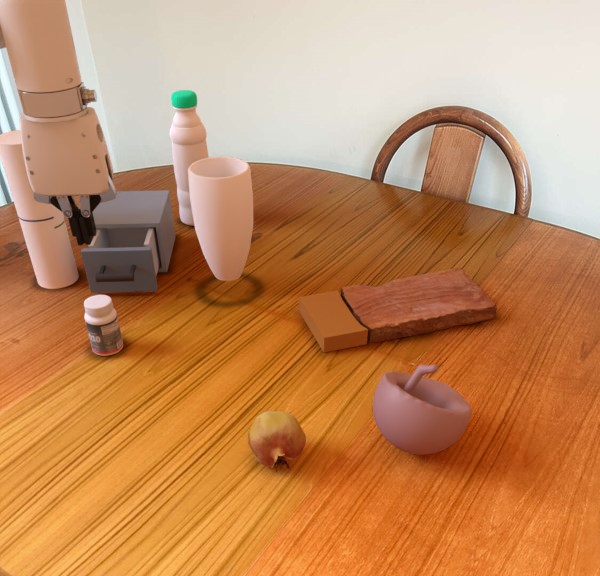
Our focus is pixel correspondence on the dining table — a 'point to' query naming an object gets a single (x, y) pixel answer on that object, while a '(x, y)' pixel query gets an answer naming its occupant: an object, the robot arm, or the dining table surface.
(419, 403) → the mortar and pestle
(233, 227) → the cup
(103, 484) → the dining table surface
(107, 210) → the cabinet
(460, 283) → the brown flat slab
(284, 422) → the fruit
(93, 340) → the pill bottle
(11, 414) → the dining table surface
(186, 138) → the water bottle
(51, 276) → the cylindrical container
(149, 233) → the drawer
